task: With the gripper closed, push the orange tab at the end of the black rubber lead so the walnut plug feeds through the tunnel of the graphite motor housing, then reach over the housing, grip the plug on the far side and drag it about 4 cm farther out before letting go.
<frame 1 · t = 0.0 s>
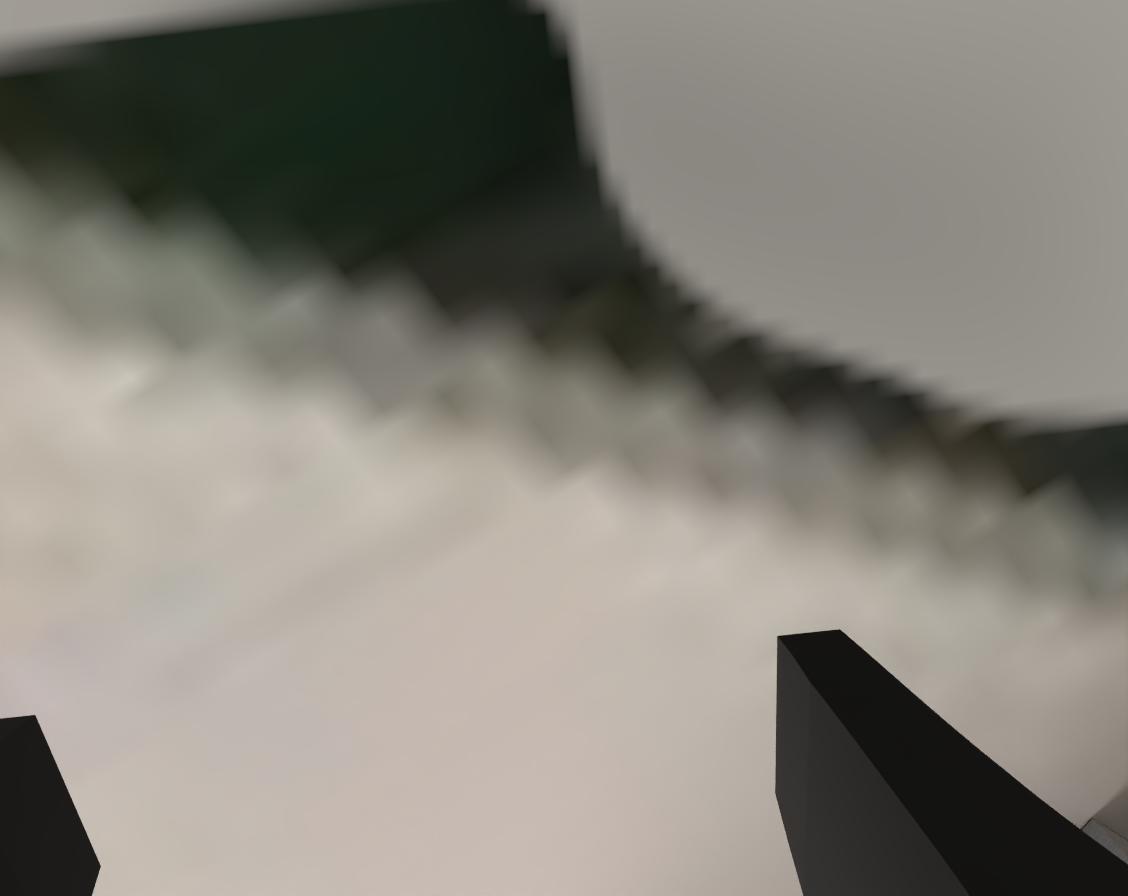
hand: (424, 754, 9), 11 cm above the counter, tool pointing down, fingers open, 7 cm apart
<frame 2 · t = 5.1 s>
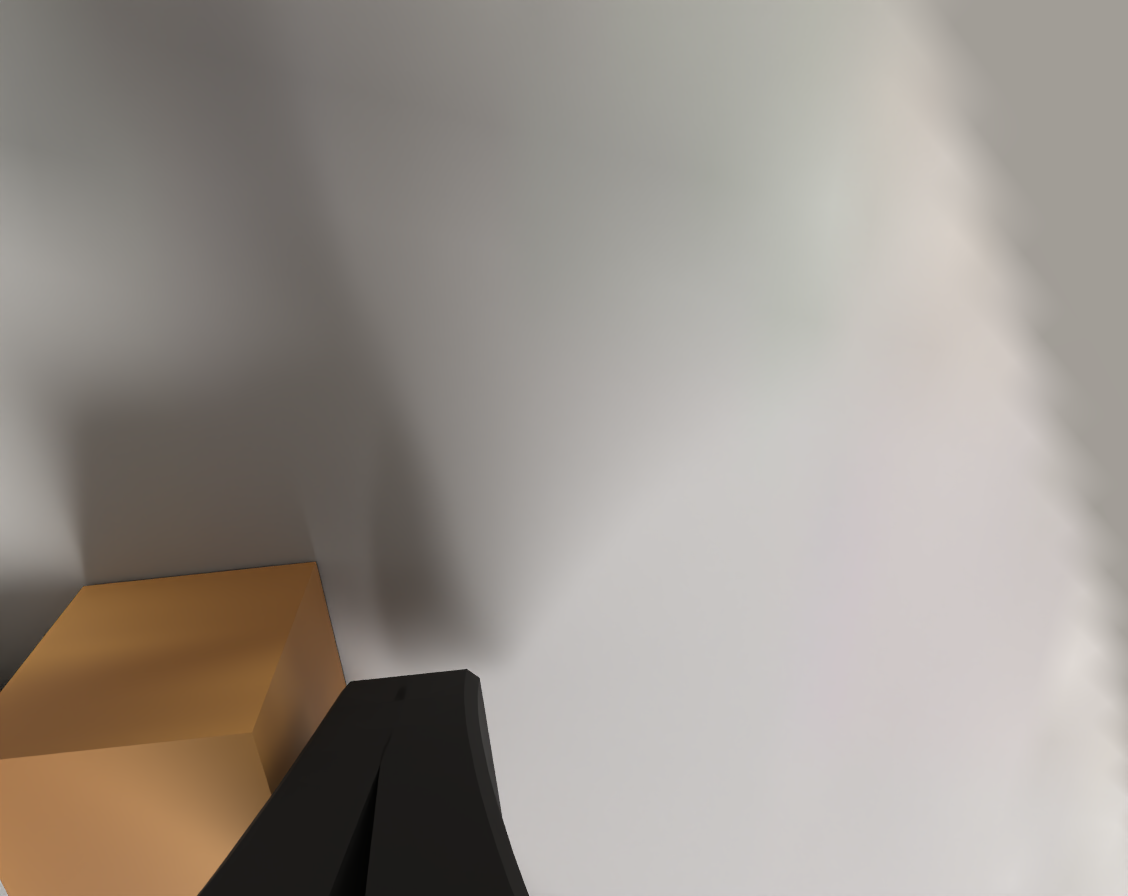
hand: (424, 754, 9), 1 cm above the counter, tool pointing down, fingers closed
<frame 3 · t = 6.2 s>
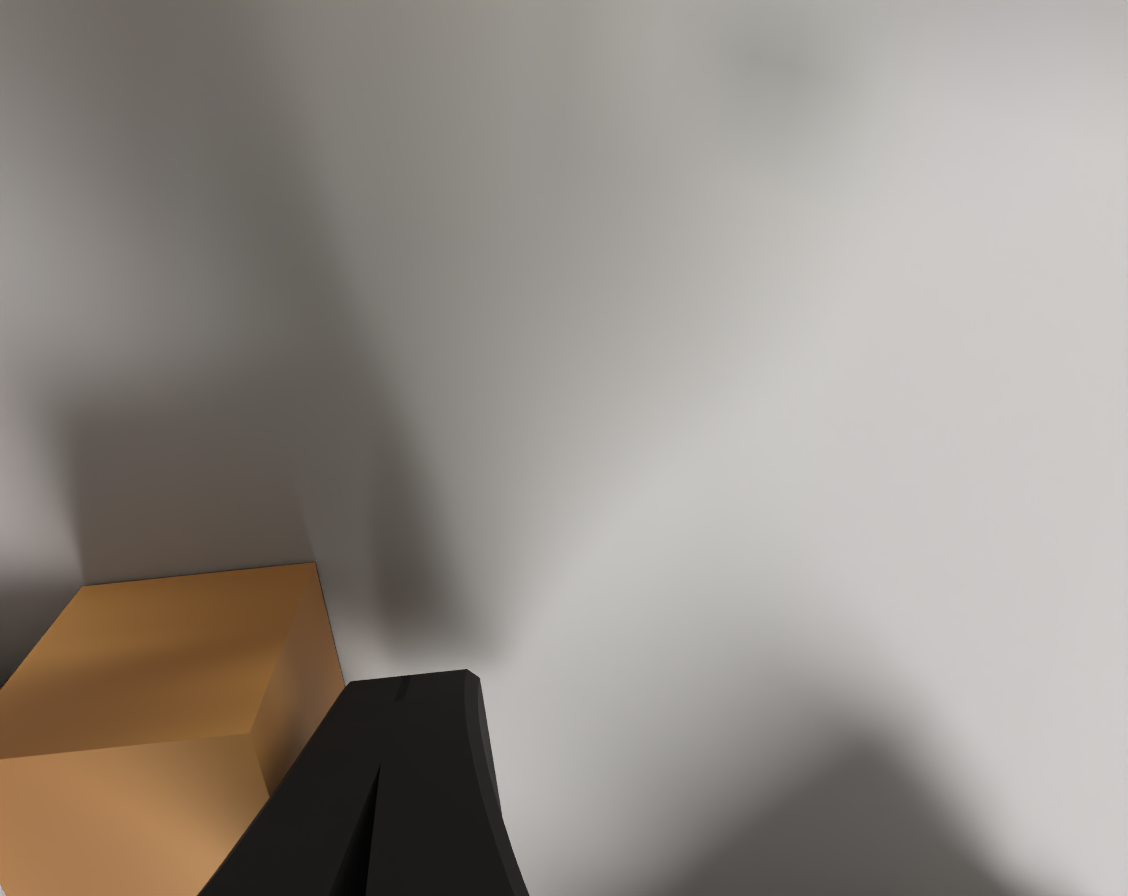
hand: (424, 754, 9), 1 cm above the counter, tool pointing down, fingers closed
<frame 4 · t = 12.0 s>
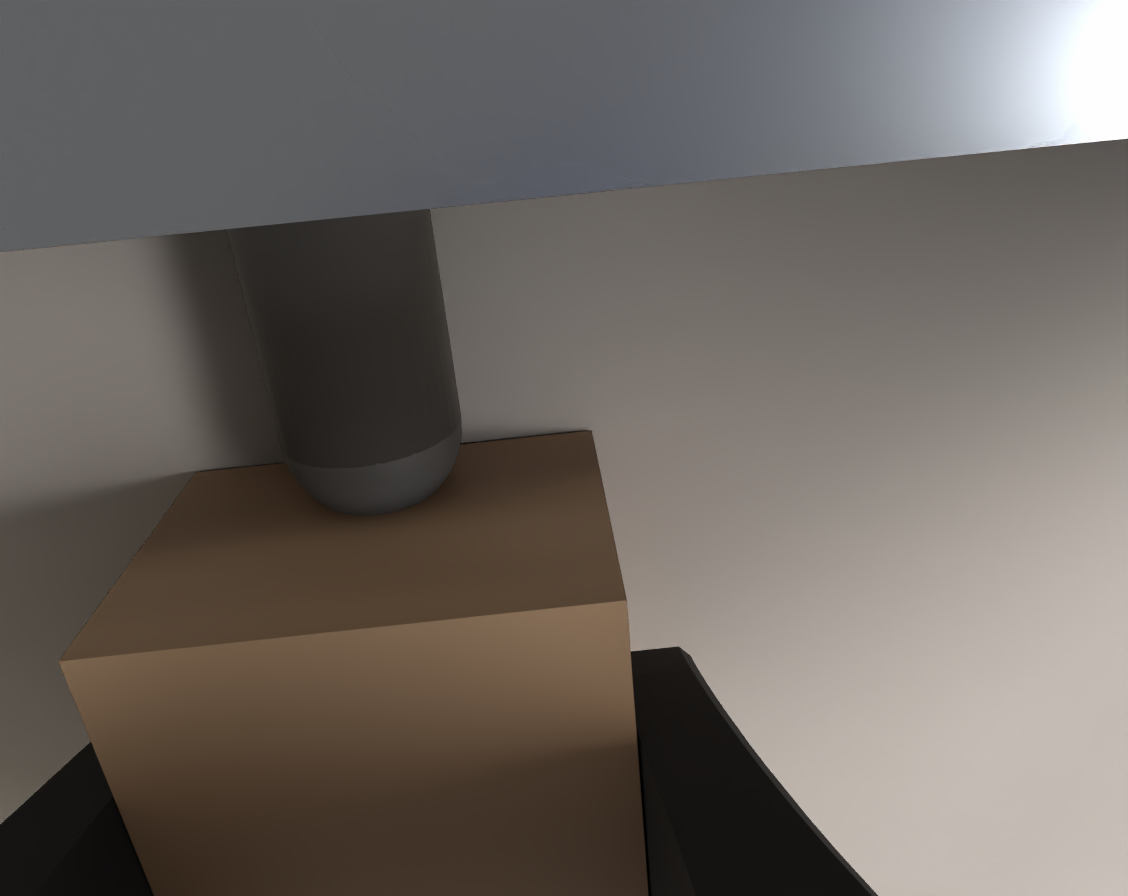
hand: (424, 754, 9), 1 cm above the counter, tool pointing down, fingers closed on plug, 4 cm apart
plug: (425, 615, 10), on the counter, touching gripper
when the fingers open (1 cm above the counter, at t = 14.4 s): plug stays where it is, on the counter.
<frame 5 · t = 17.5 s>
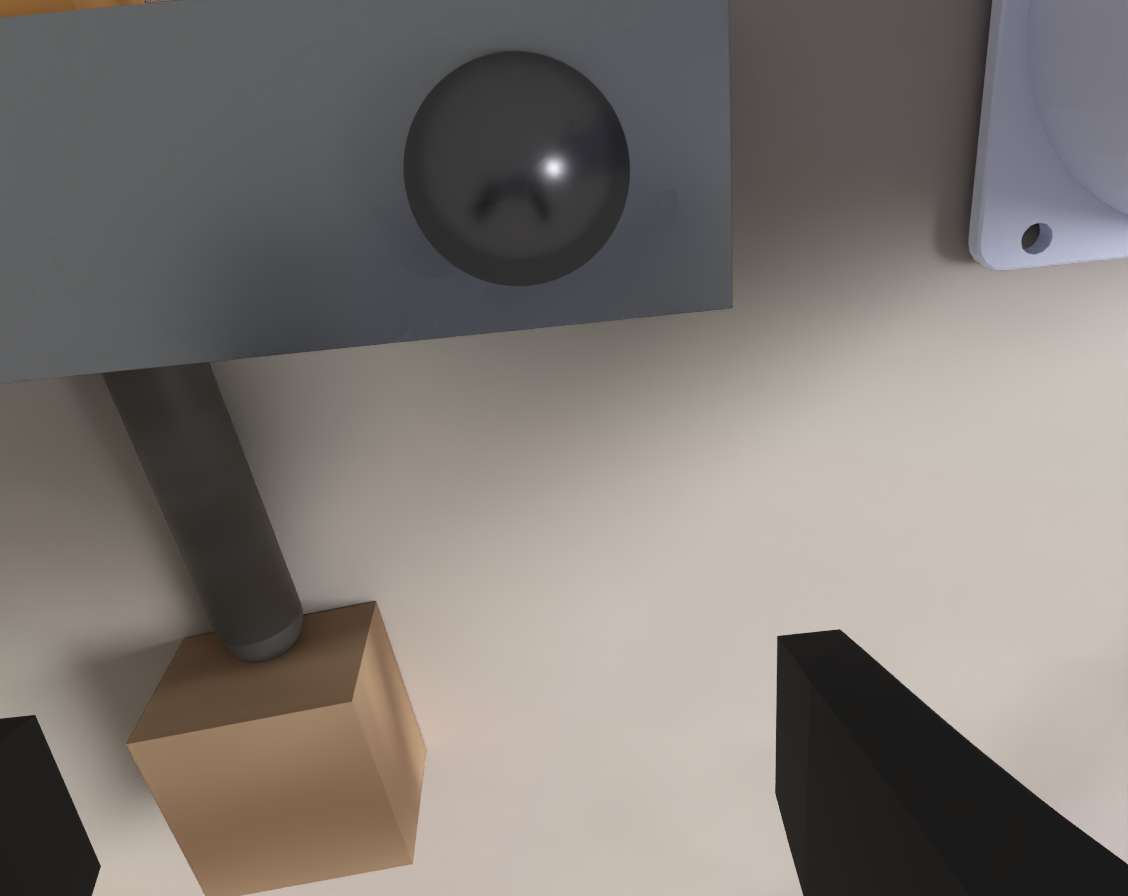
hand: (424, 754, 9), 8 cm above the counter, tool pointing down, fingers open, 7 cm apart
motor housing: (174, 163, 14), on the counter
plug: (310, 696, 19), on the counter
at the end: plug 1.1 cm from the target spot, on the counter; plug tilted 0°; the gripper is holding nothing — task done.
